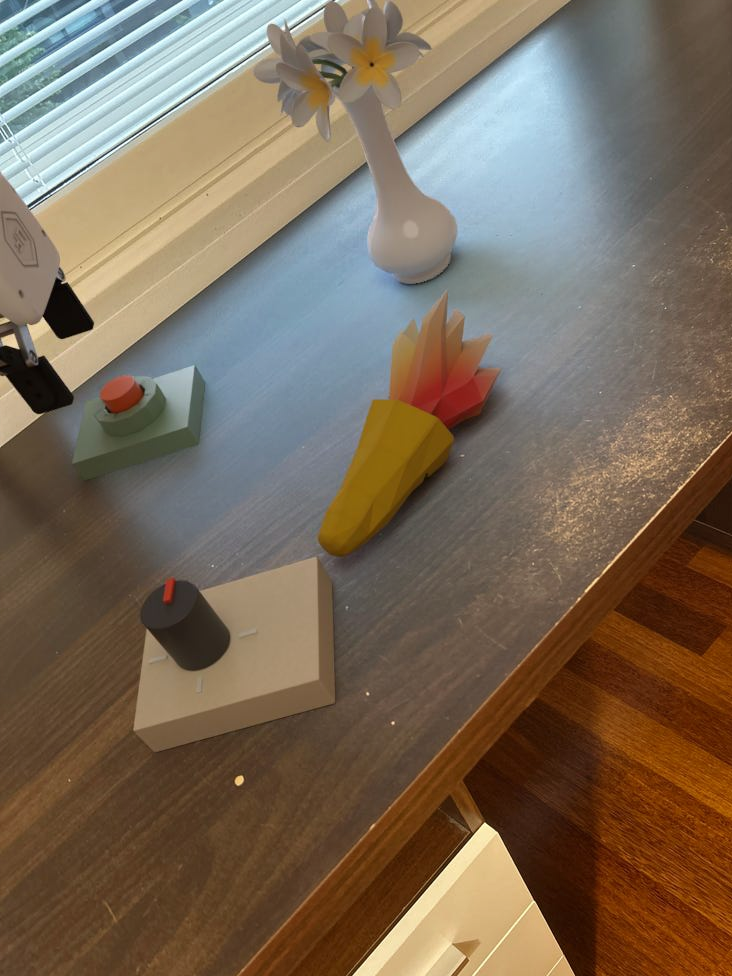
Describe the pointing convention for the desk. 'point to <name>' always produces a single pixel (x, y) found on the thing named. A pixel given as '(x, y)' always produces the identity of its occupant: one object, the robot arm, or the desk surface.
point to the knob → (185, 625)
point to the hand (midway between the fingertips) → (67, 368)
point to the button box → (141, 424)
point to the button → (121, 394)
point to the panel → (246, 660)
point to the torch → (409, 425)
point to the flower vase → (366, 125)
